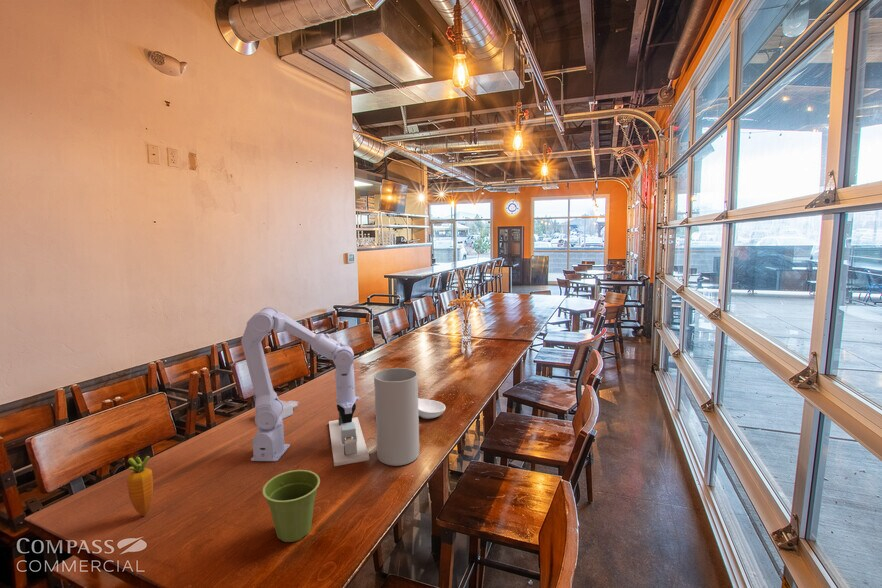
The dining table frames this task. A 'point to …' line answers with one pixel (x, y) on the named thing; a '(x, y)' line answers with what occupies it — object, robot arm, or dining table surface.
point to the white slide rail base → (347, 444)
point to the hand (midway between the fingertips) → (347, 426)
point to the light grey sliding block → (348, 431)
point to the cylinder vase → (397, 416)
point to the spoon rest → (430, 408)
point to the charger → (288, 408)
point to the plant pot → (292, 502)
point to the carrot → (140, 485)
